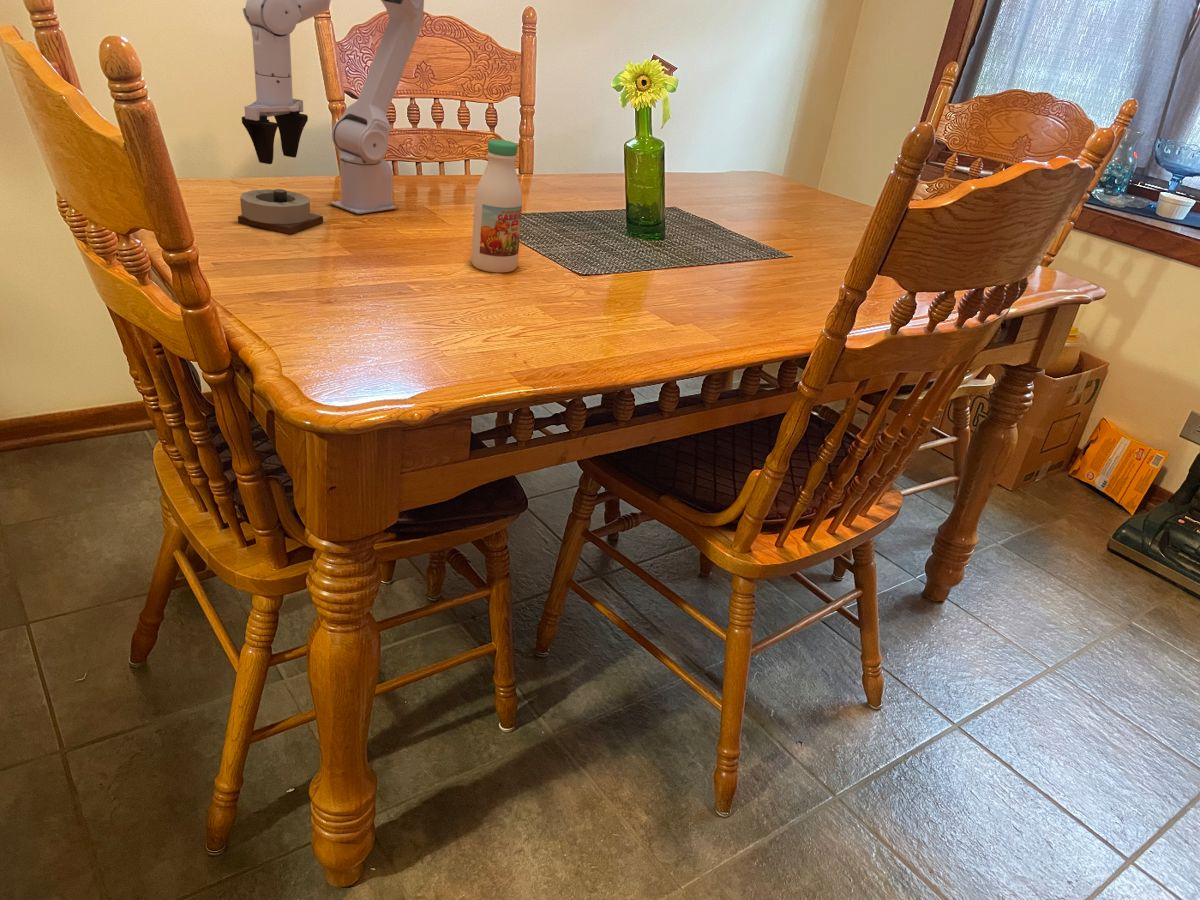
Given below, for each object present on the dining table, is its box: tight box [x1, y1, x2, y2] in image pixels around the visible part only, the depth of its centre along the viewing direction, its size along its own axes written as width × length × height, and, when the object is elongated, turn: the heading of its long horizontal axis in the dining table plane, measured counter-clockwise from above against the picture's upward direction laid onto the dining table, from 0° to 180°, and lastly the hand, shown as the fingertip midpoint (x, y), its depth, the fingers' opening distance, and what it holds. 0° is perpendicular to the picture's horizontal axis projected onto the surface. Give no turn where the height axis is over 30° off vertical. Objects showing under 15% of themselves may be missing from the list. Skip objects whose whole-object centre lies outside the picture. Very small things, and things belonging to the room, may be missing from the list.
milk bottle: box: [470, 139, 523, 273], centre depth 133 cm, size 8×8×20 cm
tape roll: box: [240, 188, 311, 224], centre depth 142 cm, size 11×11×3 cm
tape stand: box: [237, 188, 324, 235], centre depth 142 cm, size 10×10×6 cm
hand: (278, 159), depth 143 cm, fingers open, 7 cm apart
